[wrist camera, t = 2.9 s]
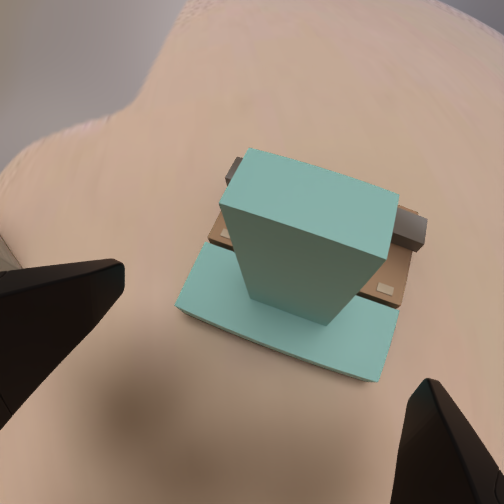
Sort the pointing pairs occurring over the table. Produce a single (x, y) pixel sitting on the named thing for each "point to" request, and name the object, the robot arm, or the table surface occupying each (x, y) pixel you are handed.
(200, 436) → the table surface
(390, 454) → the table surface
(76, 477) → the table surface
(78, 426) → the table surface
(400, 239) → the board
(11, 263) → the skincare box
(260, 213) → the teal t-shaped block
